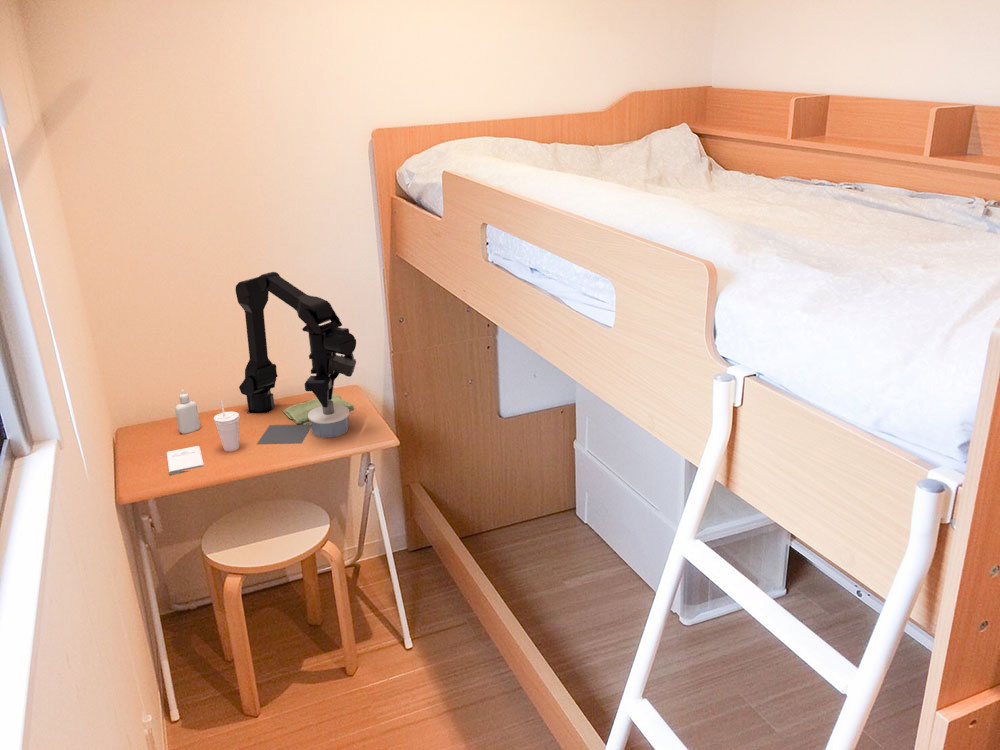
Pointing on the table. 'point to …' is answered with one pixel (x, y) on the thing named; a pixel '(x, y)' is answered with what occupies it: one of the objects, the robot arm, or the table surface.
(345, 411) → the lid
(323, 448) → the table surface
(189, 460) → the external hard drive
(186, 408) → the eye dropper bottle
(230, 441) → the smoothie
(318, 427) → the bowl
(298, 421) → the washcloth
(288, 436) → the mat
